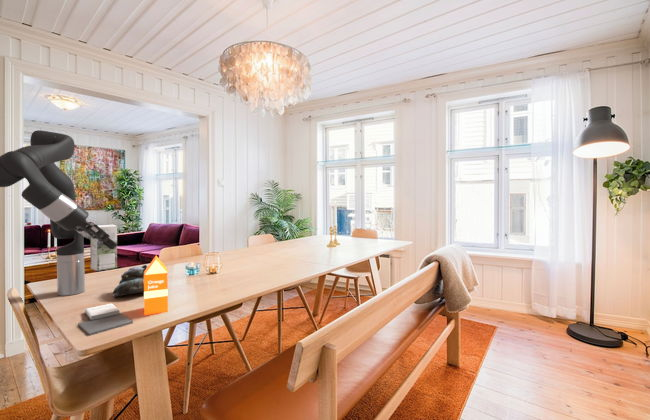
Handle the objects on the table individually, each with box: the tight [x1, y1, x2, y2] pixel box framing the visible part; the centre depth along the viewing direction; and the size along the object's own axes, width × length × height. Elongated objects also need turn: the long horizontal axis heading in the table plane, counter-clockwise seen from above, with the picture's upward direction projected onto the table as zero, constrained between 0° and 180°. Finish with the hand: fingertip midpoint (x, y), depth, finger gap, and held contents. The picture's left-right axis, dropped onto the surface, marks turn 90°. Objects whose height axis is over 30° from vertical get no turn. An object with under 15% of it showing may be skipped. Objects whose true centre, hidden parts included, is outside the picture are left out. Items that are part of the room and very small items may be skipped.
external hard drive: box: [84, 303, 121, 320], centre depth 109 cm, size 2×8×12 cm
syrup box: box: [89, 223, 118, 272], centre depth 100 cm, size 6×6×14 cm
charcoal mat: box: [77, 312, 134, 336], centre depth 101 cm, size 12×12×1 cm
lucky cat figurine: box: [112, 264, 148, 298], centre depth 133 cm, size 15×12×14 cm
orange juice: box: [143, 255, 169, 316], centre depth 114 cm, size 8×9×20 cm
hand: (109, 246), depth 102 cm, fingers closed on syrup box, 6 cm apart
